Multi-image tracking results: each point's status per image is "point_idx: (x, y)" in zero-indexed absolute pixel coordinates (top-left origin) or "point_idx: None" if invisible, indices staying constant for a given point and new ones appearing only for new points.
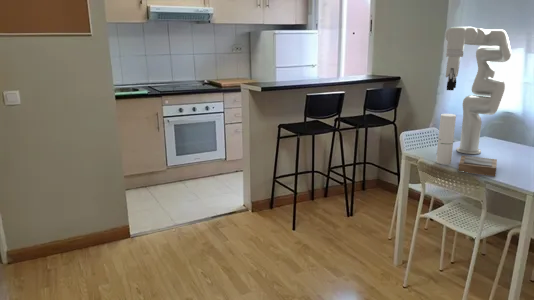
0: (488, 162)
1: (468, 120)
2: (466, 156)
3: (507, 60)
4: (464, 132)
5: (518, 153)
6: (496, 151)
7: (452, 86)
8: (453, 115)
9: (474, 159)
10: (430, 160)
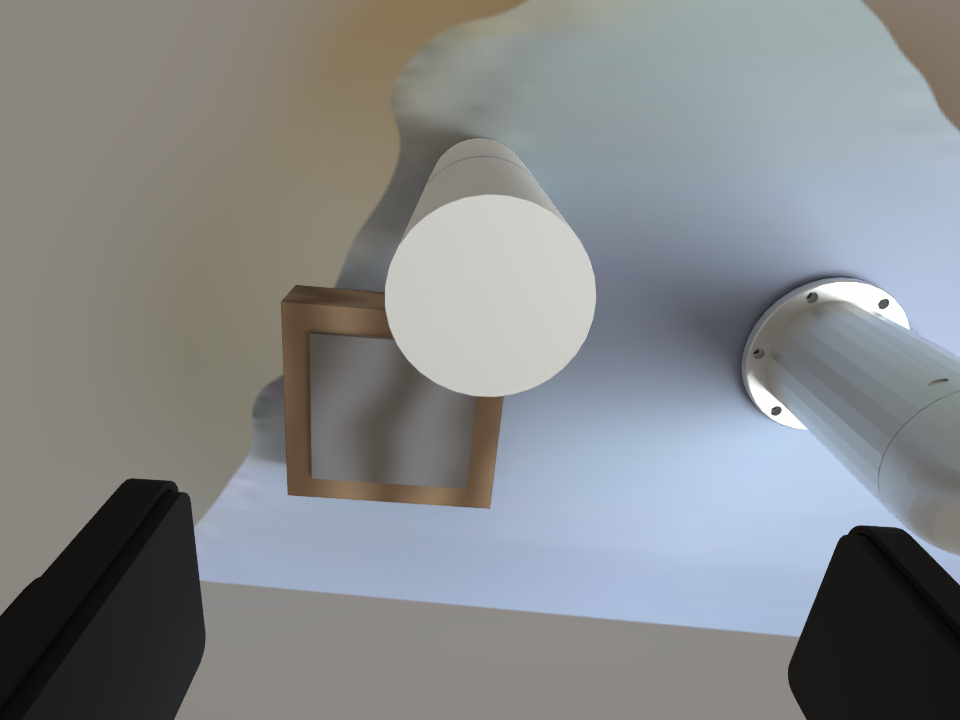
0: (377, 466)
1: (934, 458)
2: None
3: None
4: (874, 377)
5: None
6: (846, 503)
7: None
8: (475, 366)
9: (414, 396)
10: (499, 93)
